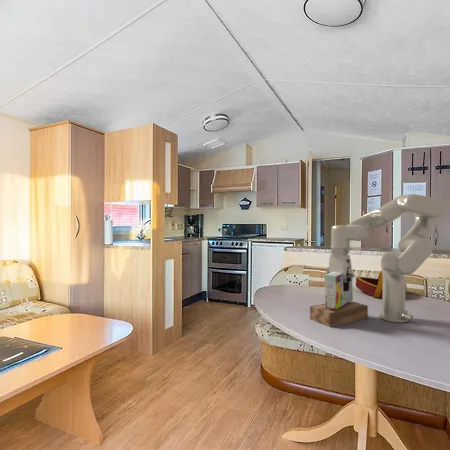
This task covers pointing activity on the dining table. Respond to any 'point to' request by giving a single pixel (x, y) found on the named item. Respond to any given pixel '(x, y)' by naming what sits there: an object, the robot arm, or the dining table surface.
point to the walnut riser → (338, 313)
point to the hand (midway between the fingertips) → (339, 288)
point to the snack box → (336, 290)
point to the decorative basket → (371, 285)
